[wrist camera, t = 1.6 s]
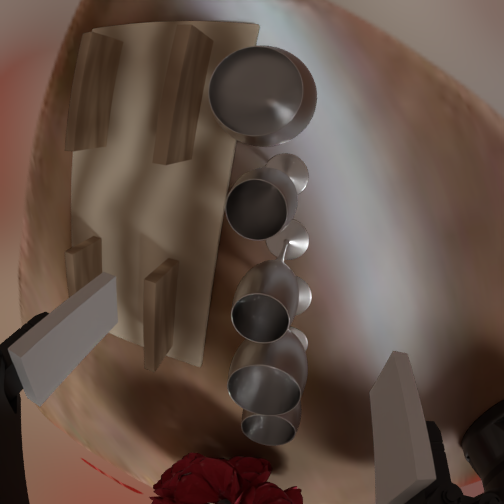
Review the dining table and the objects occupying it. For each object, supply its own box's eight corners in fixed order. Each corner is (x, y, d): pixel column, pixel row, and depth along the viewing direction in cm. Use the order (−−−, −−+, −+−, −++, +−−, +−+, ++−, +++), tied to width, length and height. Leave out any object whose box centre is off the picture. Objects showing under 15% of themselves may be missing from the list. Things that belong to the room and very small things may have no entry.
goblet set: (313, 361, 33) (301, 462, 21) (260, 357, 34) (230, 454, 22) (316, 76, 23) (311, 23, 11) (247, 79, 24) (185, 37, 12)
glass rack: (259, 26, 22) (245, 3, 17) (201, 364, 36) (185, 396, 31) (95, 29, 24) (61, 19, 19) (81, 317, 38) (56, 338, 33)
